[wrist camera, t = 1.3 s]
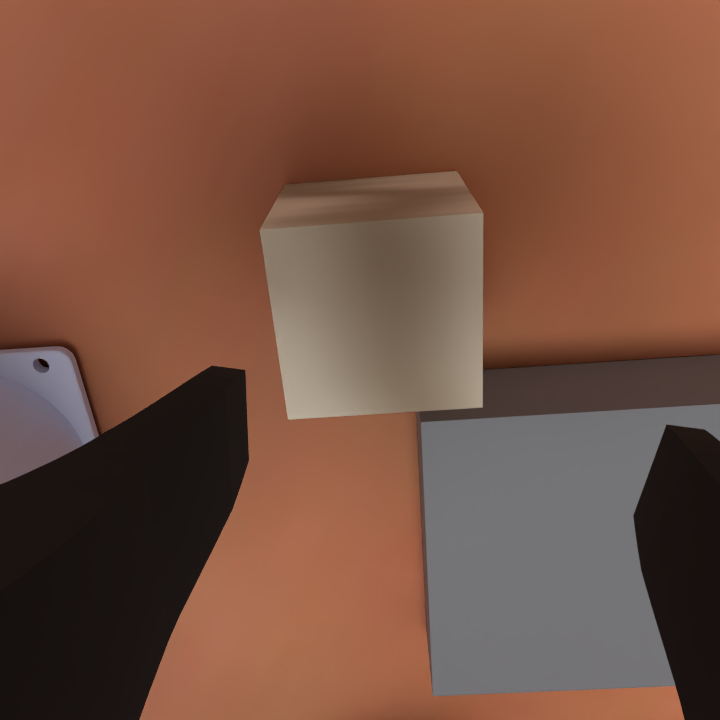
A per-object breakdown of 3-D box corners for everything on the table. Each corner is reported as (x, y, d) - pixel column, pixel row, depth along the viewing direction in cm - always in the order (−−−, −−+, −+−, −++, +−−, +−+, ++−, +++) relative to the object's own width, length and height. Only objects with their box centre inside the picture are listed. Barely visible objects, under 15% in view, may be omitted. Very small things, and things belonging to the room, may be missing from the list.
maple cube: (305, 338, 21) (288, 419, 17) (285, 183, 19) (259, 229, 15) (458, 328, 21) (482, 407, 17) (456, 170, 19) (483, 212, 15)
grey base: (426, 630, 27) (433, 696, 25) (414, 374, 22) (421, 422, 19) (723, 616, 27) (762, 682, 24) (784, 350, 21) (844, 396, 19)
